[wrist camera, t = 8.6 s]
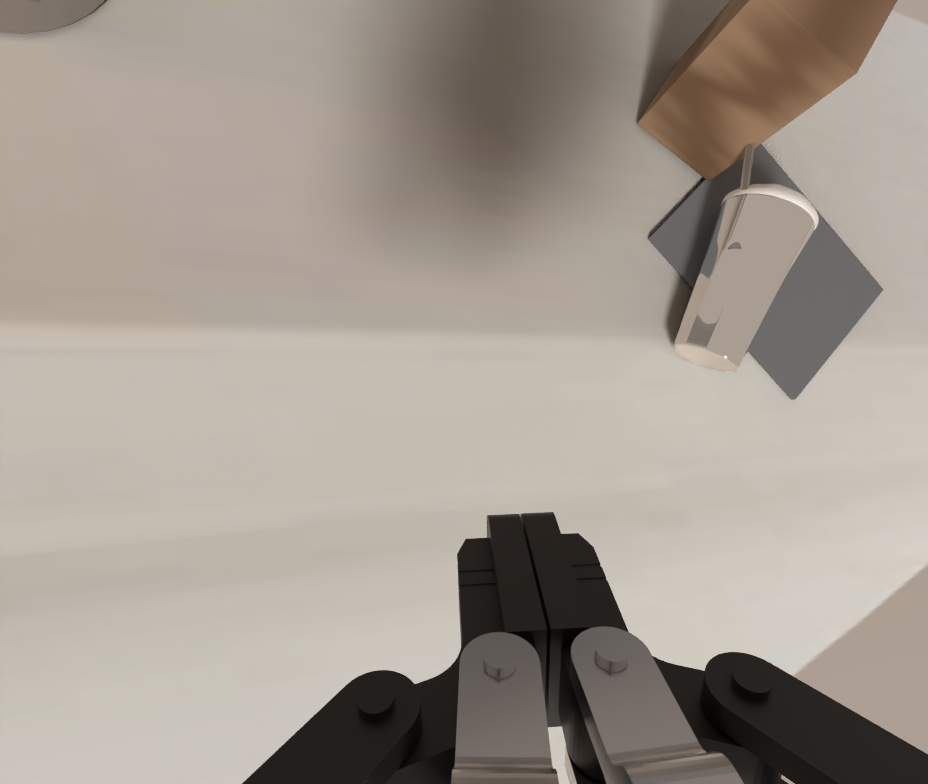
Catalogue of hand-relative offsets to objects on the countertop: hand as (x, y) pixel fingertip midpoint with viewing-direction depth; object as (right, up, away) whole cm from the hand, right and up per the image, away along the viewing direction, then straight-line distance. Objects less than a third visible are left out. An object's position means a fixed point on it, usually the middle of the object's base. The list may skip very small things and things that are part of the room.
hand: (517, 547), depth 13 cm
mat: (+16, +11, +19) cm, 27 cm away
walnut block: (+11, +18, +18) cm, 28 cm away
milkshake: (+10, +5, +15) cm, 19 cm away
